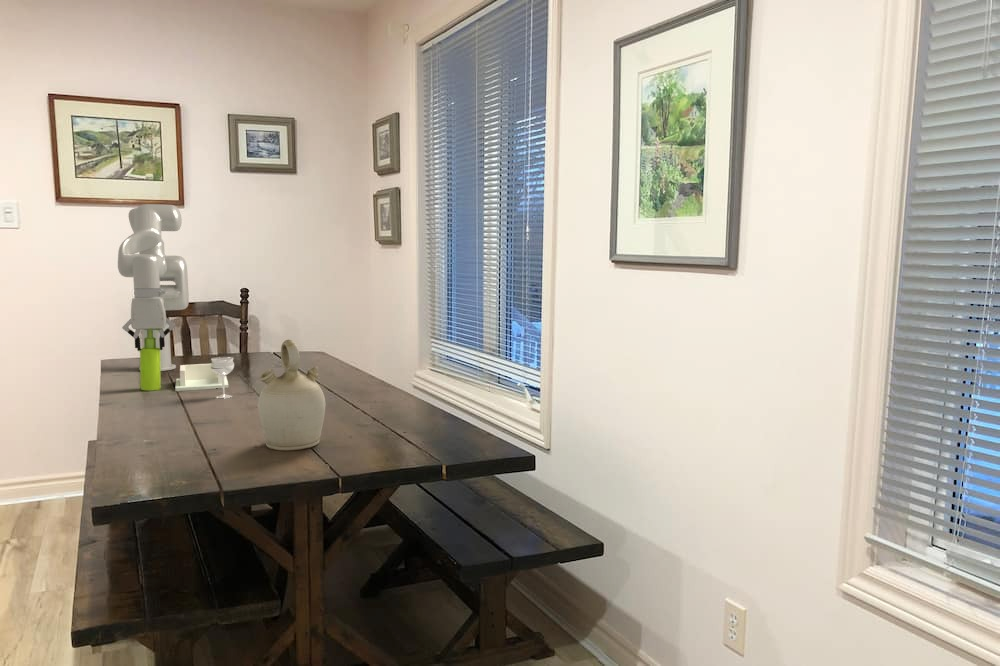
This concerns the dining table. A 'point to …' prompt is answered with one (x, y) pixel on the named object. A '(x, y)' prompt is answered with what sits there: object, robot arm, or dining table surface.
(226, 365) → the wineglass
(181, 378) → the u rest
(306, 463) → the dining table surface
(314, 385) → the jug
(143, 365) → the soap dispenser
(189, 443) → the dining table surface
